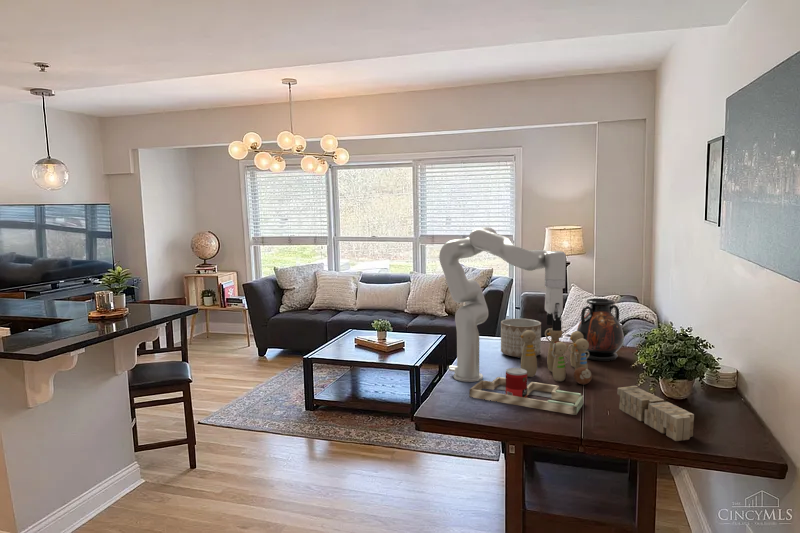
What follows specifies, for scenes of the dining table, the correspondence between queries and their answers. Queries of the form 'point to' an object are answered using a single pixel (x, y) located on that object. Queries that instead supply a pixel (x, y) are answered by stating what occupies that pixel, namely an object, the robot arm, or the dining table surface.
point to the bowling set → (557, 356)
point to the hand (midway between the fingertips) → (553, 327)
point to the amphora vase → (601, 329)
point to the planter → (518, 335)
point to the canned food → (516, 382)
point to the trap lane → (532, 389)
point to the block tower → (656, 413)
